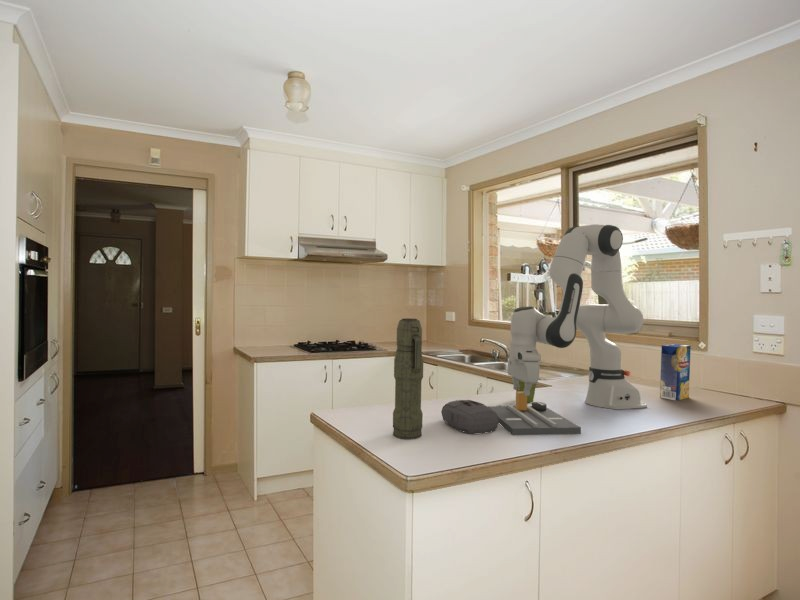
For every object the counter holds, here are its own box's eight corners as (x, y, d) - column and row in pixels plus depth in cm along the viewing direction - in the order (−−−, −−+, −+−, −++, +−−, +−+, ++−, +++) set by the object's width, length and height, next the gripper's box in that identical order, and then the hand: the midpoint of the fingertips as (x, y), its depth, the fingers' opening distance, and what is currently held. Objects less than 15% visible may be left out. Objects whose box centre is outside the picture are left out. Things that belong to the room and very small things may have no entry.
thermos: (407, 442, 143) (409, 320, 142) (384, 432, 153) (386, 318, 152) (431, 437, 149) (433, 319, 148) (407, 428, 158) (409, 317, 157)
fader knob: (523, 408, 178) (524, 390, 177) (527, 410, 175) (527, 392, 174) (515, 408, 177) (515, 390, 177) (518, 410, 174) (518, 392, 174)
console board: (543, 411, 183) (544, 399, 183) (580, 433, 156) (581, 420, 155) (485, 411, 181) (485, 400, 180) (512, 435, 153) (512, 421, 153)
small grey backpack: (504, 431, 157) (469, 416, 175) (505, 405, 157) (470, 392, 175) (463, 437, 151) (431, 420, 169) (464, 409, 150) (432, 395, 168)
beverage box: (688, 397, 212) (690, 345, 211) (676, 400, 205) (678, 347, 205) (672, 394, 217) (673, 344, 217) (659, 397, 211) (661, 345, 210)
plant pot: (528, 405, 192) (528, 382, 192) (508, 400, 200) (508, 379, 199) (542, 401, 199) (542, 380, 198) (522, 397, 206) (522, 376, 205)
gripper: (503, 349, 185) (502, 386, 185) (525, 356, 165) (523, 398, 165) (520, 349, 186) (519, 387, 186) (543, 356, 165) (541, 398, 166)
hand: (521, 392), depth 175 cm, fingers open, 8 cm apart
